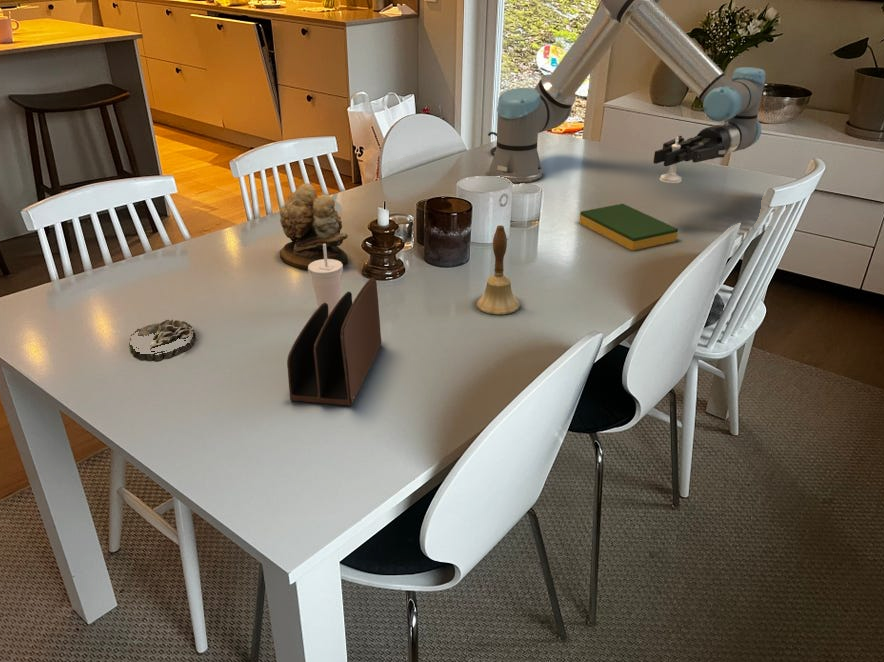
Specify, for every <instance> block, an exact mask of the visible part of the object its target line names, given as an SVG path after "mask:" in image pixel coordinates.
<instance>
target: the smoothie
mask: <svg viewBox="0 0 884 662" xmlns="http://www.w3.org/2000/svg"><path fill="white" fill-rule="evenodd" d="M322 249H323V252H324V259H321V260H317V261H314V262H312V263H310V264H309V265H308V270H307V273H308V274H309V275H310V278H311V282H312V288H313V291H314V295H315V300H316V303H317V309H318V308H319V307H320V305H321V304H323V303H327V304H328V316H329V314H330V313H331V311H332V310H333V308H334V307H335V306H336V304H337V303H338V301H339V300H340V299H341V290H342V289H341V286H342V272H343V271H344V264H342V263H341V262H340V261H338V260H334V259H327V251H326V244H323V248H322Z"/></svg>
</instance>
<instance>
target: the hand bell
mask: <svg viewBox="0 0 884 662" xmlns="http://www.w3.org/2000/svg"><path fill="white" fill-rule="evenodd" d="M507 237H508V236H507V233H506V230H505V226H504V225H501V224H500V225H497V226H496V229H495V232H494V235H493V239H492V251H493V255H494V274H493V275H492V276H489V277H488V278H487V280H486V285H485V290H484V293H483V295H481V297H480V298H478V300H477V302H476V308H478V310H479V311H481V312H483V313H485V314H490V315H498V316H502V315H509V314H512V313H514V312H516V311H518V310H519V309H520V307H521V306H520V305H521V304H520V302H519V300H518V298H516V297H515V296H514V293H513V290H512V285H511V284H512V283H511V279H510V278H509V277H507V276H506V275H504V272H505V271H504V258H505V255H506V252H507V247H508V238H507Z"/></svg>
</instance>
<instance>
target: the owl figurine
mask: <svg viewBox="0 0 884 662" xmlns="http://www.w3.org/2000/svg"><path fill="white" fill-rule="evenodd" d="M335 204H336V203H335V200H334V198H333V197H332V196H330V195H328V194H327V195H326V194H321V195H318V196H317V192H316V188H315V187H314V186H313V184H311V183H309V182H308V183H307V182H306V183H302V184H301V185H299V186H298V187H297V188H296V189H295V190H294V192H292V193H290V194H289V195H288V197H287V200H286V201H285V202H284V204H283V206H282V207H281V208H279V211H278V212H279V216H280V219H279V221H280V226H281V227H282V230H283V232H284V235H285V236H286V238H288V239H289V240H290V242H287V243H285V244H284V246H283V247H282V248H281V249H280V250H279V258H280V259H281V260H282V262H284V263H285V264H287V265H289V266H292V267H295V268H298V269H302V270H305V271H306V270H307V271H308V265H309V264H310V263H312V262H314V261H317V260H321V259H324V252H323V244H326V251H327V259H334V260H338V261H340V262H341V263H342V264H343V265H345V264H347V263H348V255H347V253H346V252H345V251H344V250H343V249H341V248H340V247H339V246H341V245H342V244H343V242H344V241H345V240H346V239H348V238H349V235H348V233H346V232H342V233H341V230H342V229H343V221H342V217H341V216H340V215H339V213H338V211H337V210H336V208H335Z"/></svg>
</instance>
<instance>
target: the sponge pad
mask: <svg viewBox="0 0 884 662" xmlns="http://www.w3.org/2000/svg"><path fill="white" fill-rule="evenodd" d="M579 224H580V225H582V226H584V227H585V228H588V229H589V230H592V231H593V232H596V233H598V235H601V236H603V237H605V238H607V239H608V240H610V241H613V242H615V243H616V244H618V245H620V246H622V247H624V248H626V249H628V250H630V251H637V250H642V249H646V248H650V247H655V246H660V245H664V244H669V243H673V242H677V238H678V233H679V228H678V227H675V226H673V225H670V224H668V223H666V222H664V221H661V220H659V219H658V218H655V217H654V216H651V215H649V214H646V213H644V212H642V211H640V210H638V209H635V208H633V207H631V206H629V205H627V204H625V203H619V204H613V205H608V206H603V207H597V208H593V209H587V210H582V211H580V213H579Z"/></svg>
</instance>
